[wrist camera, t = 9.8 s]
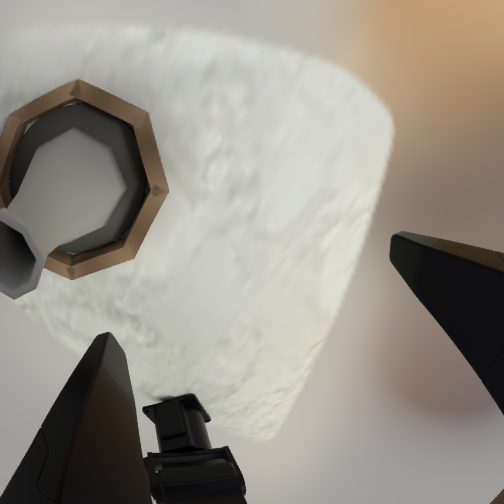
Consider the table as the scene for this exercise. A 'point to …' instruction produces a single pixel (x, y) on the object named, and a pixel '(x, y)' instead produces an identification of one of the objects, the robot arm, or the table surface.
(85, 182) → the flask
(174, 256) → the table surface
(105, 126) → the brown octagonal tray
